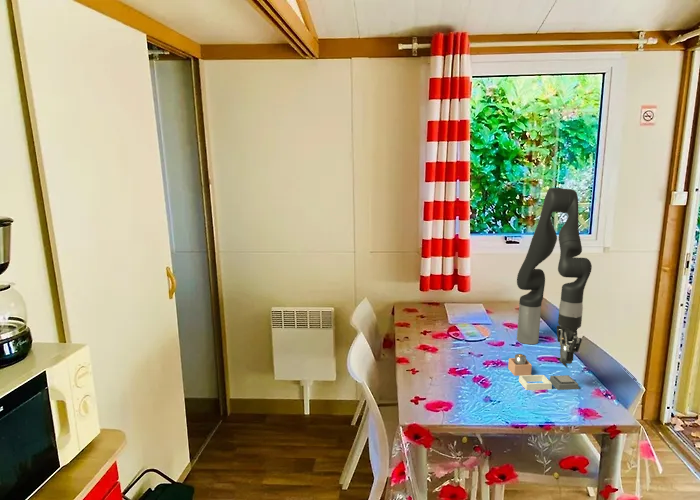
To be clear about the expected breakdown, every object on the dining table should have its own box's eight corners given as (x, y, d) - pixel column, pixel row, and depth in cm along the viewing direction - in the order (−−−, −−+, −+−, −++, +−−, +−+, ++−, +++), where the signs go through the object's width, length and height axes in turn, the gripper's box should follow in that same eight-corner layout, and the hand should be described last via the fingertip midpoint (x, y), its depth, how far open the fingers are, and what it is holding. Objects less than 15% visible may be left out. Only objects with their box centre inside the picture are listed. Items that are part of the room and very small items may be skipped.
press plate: (554, 378, 180) (555, 376, 180) (566, 378, 181) (567, 375, 180) (560, 384, 176) (561, 381, 176) (573, 384, 176) (573, 381, 176)
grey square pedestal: (548, 382, 182) (548, 375, 181) (569, 382, 182) (569, 375, 182) (557, 391, 175) (557, 384, 174) (579, 391, 175) (579, 384, 175)
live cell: (558, 359, 178) (559, 341, 177) (568, 358, 179) (570, 340, 177) (563, 363, 174) (564, 345, 173) (574, 363, 175) (575, 345, 173)
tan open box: (508, 370, 192) (508, 358, 191) (523, 369, 193) (524, 357, 192) (514, 377, 186) (515, 365, 185) (530, 377, 186) (531, 364, 185)
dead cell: (512, 369, 191) (513, 352, 189) (522, 369, 191) (523, 352, 190) (516, 374, 187) (517, 357, 186) (526, 373, 187) (527, 356, 186)
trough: (518, 383, 182) (519, 375, 181) (542, 382, 182) (543, 374, 182) (526, 392, 175) (526, 384, 174) (551, 391, 176) (552, 383, 175)
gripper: (550, 306, 180) (547, 350, 183) (570, 319, 166) (566, 367, 169) (570, 306, 180) (566, 350, 184) (591, 319, 166) (587, 366, 170)
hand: (566, 358), depth 176 cm, fingers closed on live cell, 4 cm apart
